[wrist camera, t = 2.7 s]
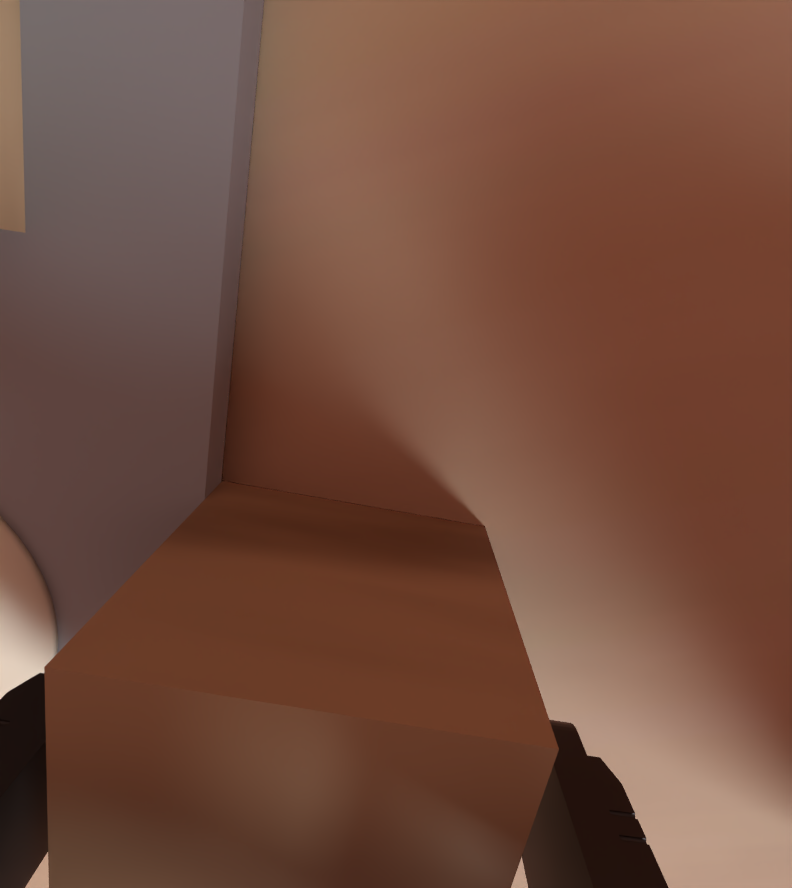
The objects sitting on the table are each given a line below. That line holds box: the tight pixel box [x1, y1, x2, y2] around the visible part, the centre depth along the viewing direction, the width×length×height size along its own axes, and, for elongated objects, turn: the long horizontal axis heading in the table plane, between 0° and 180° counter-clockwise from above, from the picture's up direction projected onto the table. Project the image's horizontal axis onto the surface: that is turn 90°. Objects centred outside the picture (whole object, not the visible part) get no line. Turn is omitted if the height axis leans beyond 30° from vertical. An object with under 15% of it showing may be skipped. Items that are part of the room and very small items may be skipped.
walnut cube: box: [44, 481, 559, 888], centre depth 10 cm, size 6×6×6 cm
